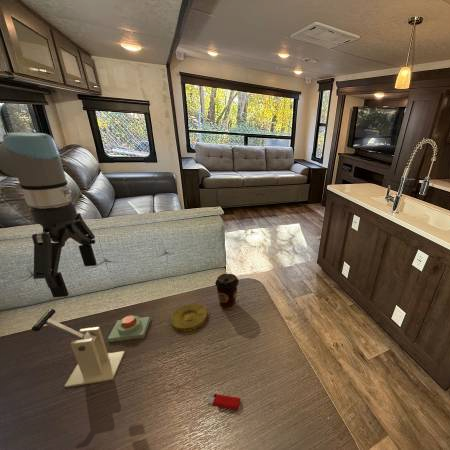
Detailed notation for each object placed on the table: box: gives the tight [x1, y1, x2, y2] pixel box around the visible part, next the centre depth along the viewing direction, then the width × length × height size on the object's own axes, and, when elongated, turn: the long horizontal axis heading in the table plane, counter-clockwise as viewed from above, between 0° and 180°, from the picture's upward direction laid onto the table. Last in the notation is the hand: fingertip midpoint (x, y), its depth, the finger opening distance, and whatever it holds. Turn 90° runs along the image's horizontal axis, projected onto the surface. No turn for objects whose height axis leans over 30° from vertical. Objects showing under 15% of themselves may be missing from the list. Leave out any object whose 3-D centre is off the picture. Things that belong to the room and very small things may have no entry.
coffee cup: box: [214, 273, 240, 310], centre depth 98 cm, size 9×8×13 cm
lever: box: [31, 308, 97, 342], centre depth 64 cm, size 13×6×2 cm
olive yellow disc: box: [170, 303, 208, 333], centre depth 90 cm, size 12×12×2 cm
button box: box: [107, 315, 151, 343], centre depth 83 cm, size 10×8×4 cm
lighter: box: [207, 393, 241, 411], centre depth 66 cm, size 3×1×8 cm
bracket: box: [64, 326, 126, 388], centre depth 68 cm, size 11×9×14 cm
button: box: [121, 314, 135, 328], centre depth 82 cm, size 4×4×2 cm
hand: (77, 279), depth 66 cm, fingers open, 13 cm apart
